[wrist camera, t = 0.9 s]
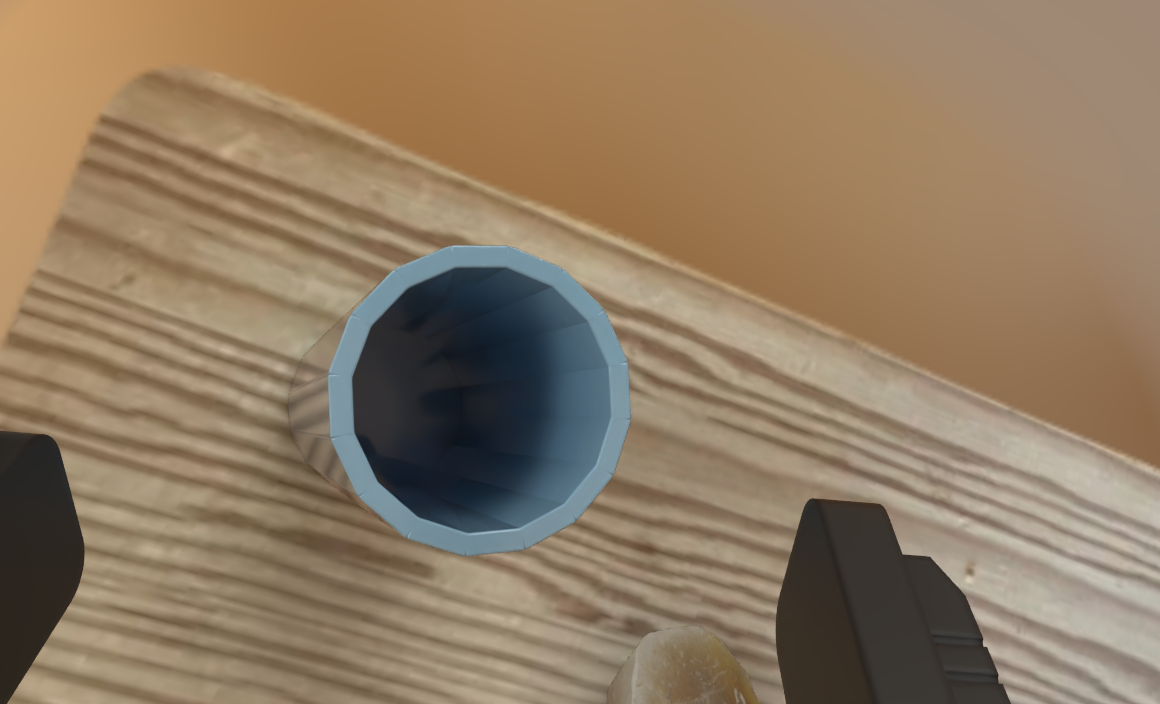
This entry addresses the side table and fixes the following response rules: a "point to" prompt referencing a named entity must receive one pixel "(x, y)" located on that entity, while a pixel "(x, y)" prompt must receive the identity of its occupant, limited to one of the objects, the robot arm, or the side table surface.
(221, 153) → the side table surface
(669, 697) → the stone
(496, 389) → the cup
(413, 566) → the side table surface
